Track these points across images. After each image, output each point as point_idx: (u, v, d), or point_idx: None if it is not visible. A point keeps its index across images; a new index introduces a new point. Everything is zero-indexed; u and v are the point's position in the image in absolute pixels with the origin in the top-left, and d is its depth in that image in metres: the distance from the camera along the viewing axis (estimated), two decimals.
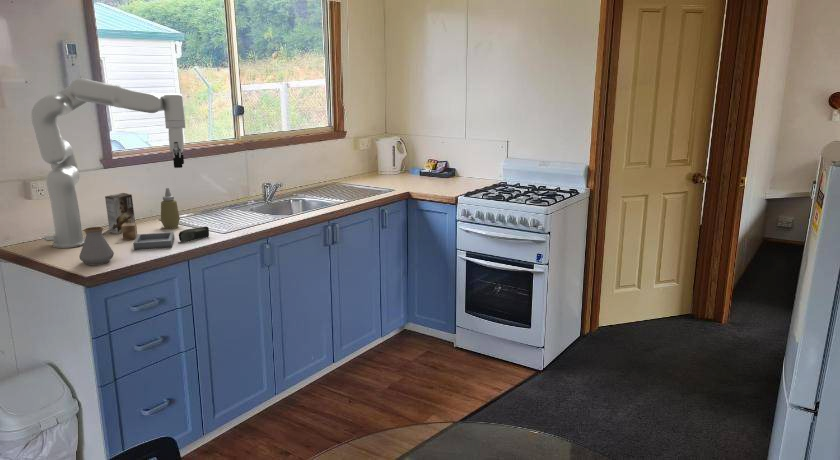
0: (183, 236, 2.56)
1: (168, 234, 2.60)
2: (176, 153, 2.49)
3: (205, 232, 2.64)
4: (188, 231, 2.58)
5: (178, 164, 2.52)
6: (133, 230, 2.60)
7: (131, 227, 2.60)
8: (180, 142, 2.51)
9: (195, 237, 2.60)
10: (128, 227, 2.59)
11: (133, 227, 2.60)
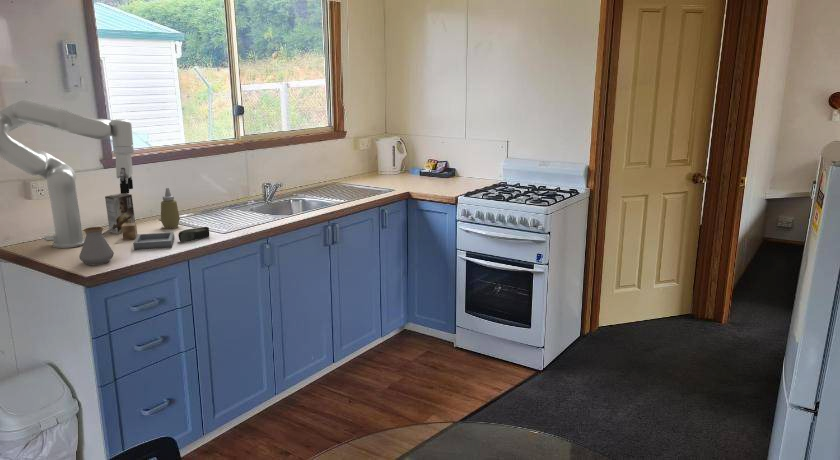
0: (182, 236, 2.56)
1: (168, 234, 2.60)
2: (122, 179, 2.49)
3: (206, 233, 2.64)
4: (188, 231, 2.57)
5: (125, 190, 2.52)
6: (133, 230, 2.60)
7: (131, 227, 2.60)
8: (127, 168, 2.51)
9: (195, 237, 2.60)
10: (128, 227, 2.59)
11: (133, 227, 2.60)
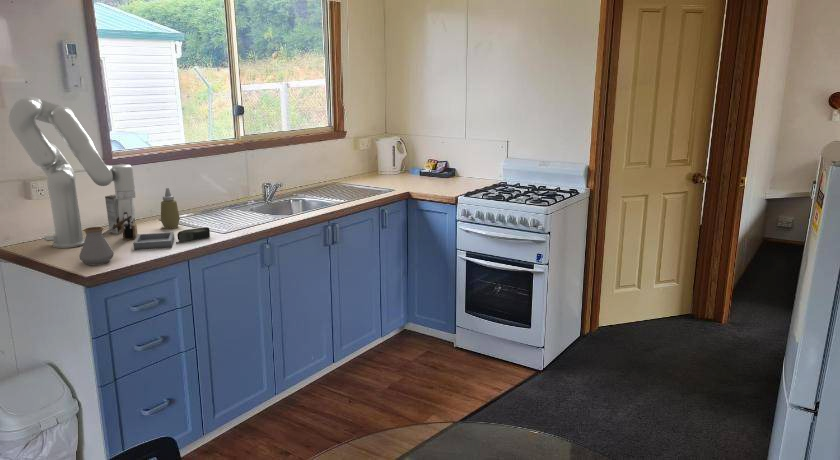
0: (181, 236, 2.55)
1: (168, 234, 2.60)
2: (126, 226, 2.56)
3: (206, 233, 2.62)
4: (187, 231, 2.57)
5: (129, 235, 2.59)
6: (133, 230, 2.60)
7: None
8: (130, 212, 2.56)
9: (195, 237, 2.59)
10: None
11: (133, 227, 2.60)
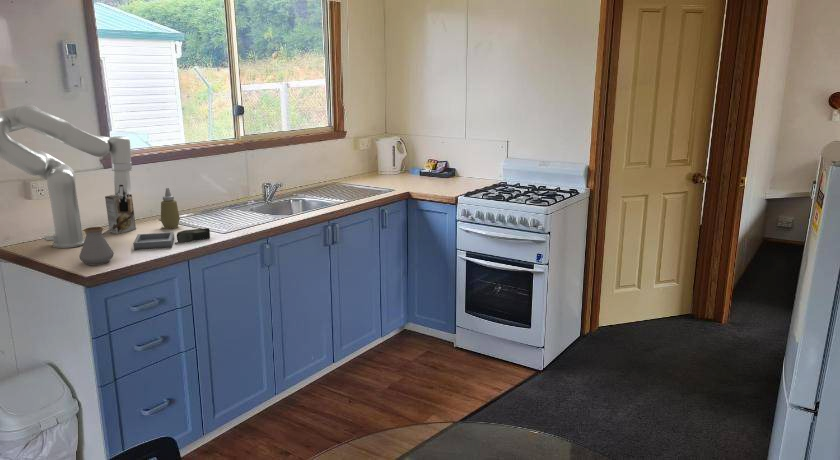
0: (180, 236, 2.55)
1: (168, 234, 2.60)
2: (122, 198, 2.53)
3: (205, 234, 2.61)
4: (186, 232, 2.56)
5: (124, 208, 2.56)
6: (128, 203, 2.57)
7: None
8: (125, 185, 2.53)
9: (194, 238, 2.58)
10: None
11: (128, 200, 2.56)
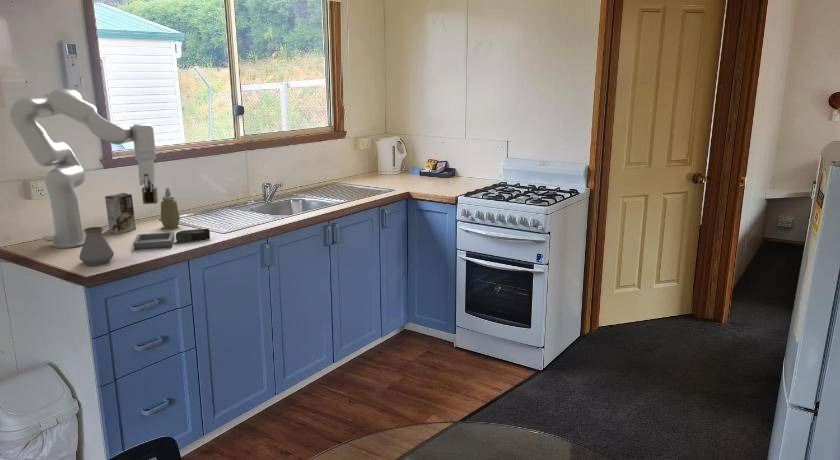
0: (179, 236, 2.55)
1: (168, 234, 2.60)
2: (147, 188, 2.42)
3: (205, 235, 2.60)
4: (185, 232, 2.56)
5: (149, 198, 2.45)
6: (154, 193, 2.47)
7: (152, 190, 2.46)
8: (150, 174, 2.42)
9: (193, 238, 2.58)
10: None
11: (154, 190, 2.46)
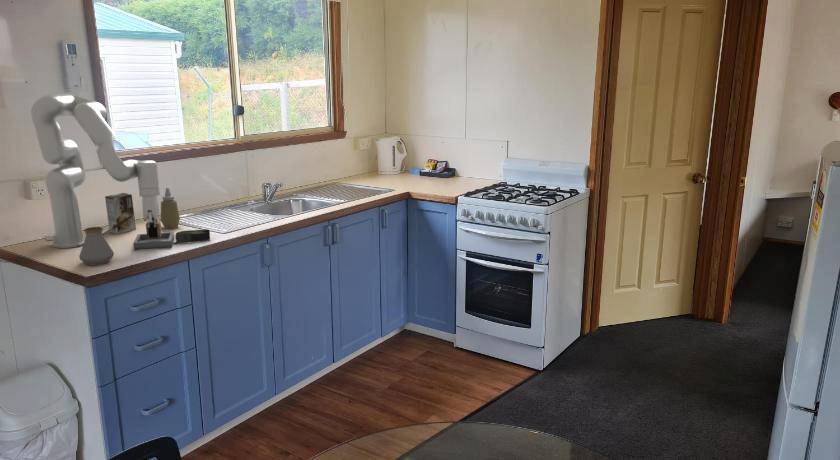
0: (178, 237, 2.54)
1: (168, 234, 2.60)
2: (151, 224, 2.46)
3: (205, 236, 2.59)
4: (184, 232, 2.55)
5: (153, 234, 2.49)
6: (158, 228, 2.50)
7: None
8: (154, 210, 2.46)
9: (192, 239, 2.57)
10: None
11: (158, 225, 2.50)
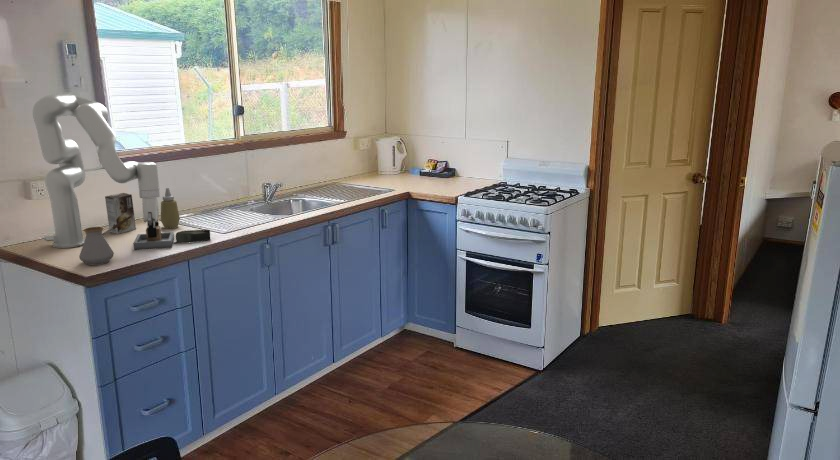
0: (178, 236, 2.54)
1: (168, 234, 2.60)
2: (150, 224, 2.44)
3: (205, 236, 2.59)
4: (184, 232, 2.55)
5: (152, 234, 2.47)
6: (158, 233, 2.51)
7: (156, 230, 2.50)
8: (154, 212, 2.46)
9: (192, 239, 2.57)
10: None
11: (158, 230, 2.51)
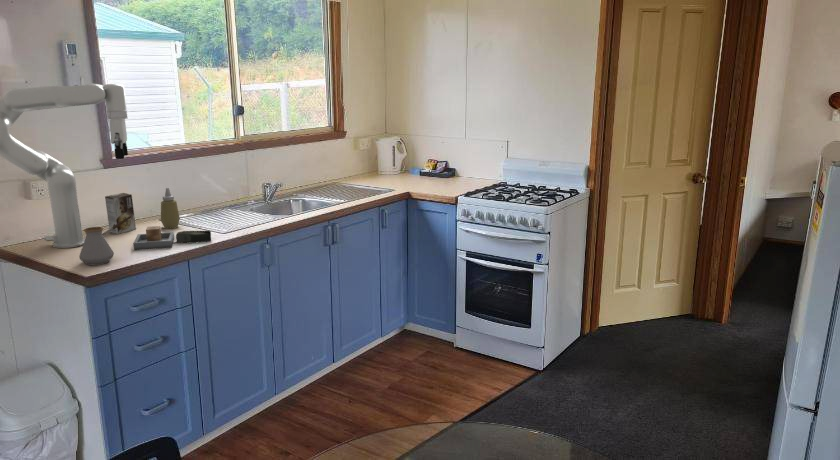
0: (178, 237, 2.54)
1: (168, 234, 2.60)
2: (117, 144, 2.47)
3: (205, 237, 2.57)
4: (184, 233, 2.55)
5: (119, 155, 2.50)
6: (158, 233, 2.51)
7: (156, 230, 2.50)
8: (121, 133, 2.49)
9: (192, 240, 2.56)
10: (152, 230, 2.50)
11: (158, 230, 2.51)
